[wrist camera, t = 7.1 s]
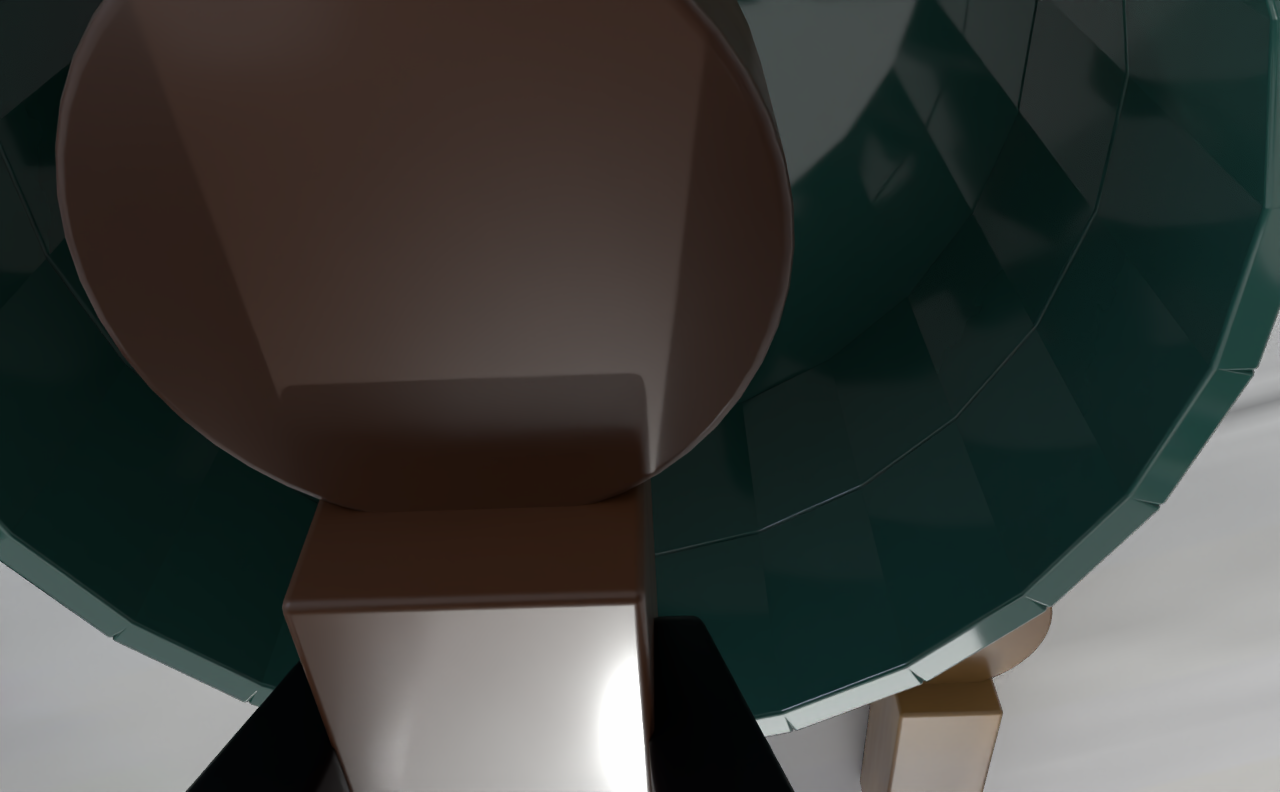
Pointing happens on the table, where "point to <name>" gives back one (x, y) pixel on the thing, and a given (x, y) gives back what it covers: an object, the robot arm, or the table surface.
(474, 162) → the walnut spoon
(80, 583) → the dark green bowl
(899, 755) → the wooden block
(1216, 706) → the table surface
